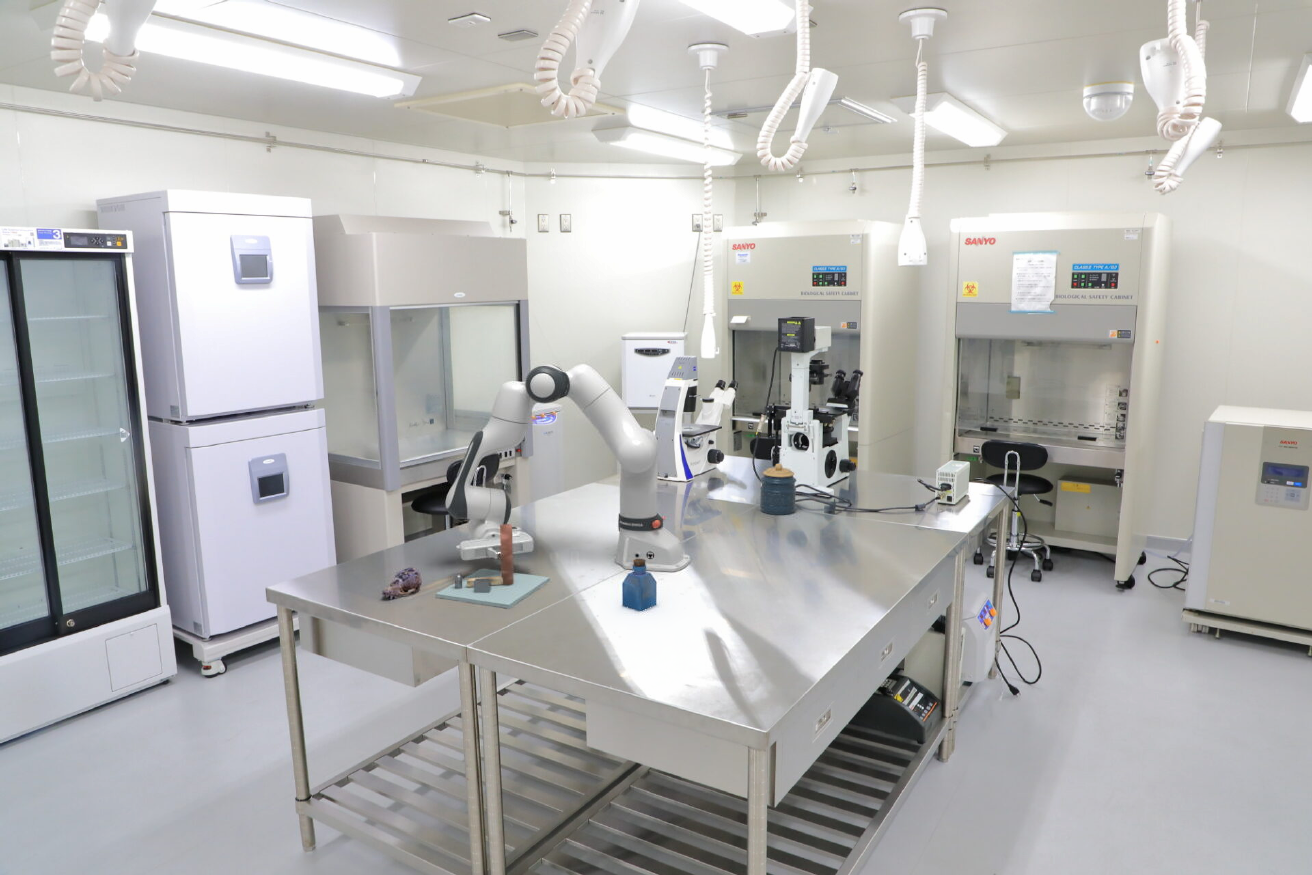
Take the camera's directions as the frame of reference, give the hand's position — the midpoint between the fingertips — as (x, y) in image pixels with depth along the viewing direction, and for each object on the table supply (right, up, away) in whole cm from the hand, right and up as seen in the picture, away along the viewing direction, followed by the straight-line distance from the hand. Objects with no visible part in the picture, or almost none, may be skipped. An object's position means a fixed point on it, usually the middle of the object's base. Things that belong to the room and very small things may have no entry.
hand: (503, 555), depth 231 cm
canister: (+86, +5, +80) cm, 117 cm away
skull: (-27, -10, -4) cm, 29 cm away
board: (-2, -9, -1) cm, 9 cm away
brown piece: (-3, -8, -1) cm, 8 cm away
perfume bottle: (+37, -11, -13) cm, 41 cm away
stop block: (-4, -10, -5) cm, 12 cm away
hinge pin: (-11, -9, -3) cm, 15 cm away
